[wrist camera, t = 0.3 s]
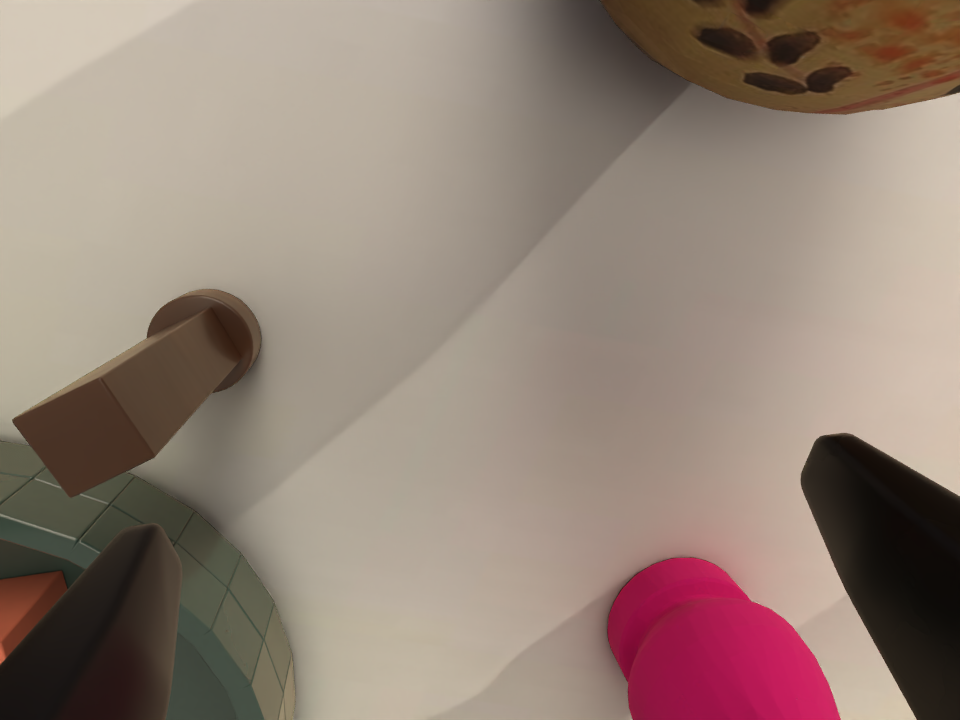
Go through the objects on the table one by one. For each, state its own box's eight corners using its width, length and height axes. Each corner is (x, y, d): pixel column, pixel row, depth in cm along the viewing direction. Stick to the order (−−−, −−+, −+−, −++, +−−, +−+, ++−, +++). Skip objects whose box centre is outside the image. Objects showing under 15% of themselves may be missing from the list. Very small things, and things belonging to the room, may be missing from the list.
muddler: (279, 356, 23) (203, 469, 14) (194, 397, 23) (59, 541, 14) (229, 272, 22) (111, 330, 13) (141, 315, 22) (-45, 406, 13)
